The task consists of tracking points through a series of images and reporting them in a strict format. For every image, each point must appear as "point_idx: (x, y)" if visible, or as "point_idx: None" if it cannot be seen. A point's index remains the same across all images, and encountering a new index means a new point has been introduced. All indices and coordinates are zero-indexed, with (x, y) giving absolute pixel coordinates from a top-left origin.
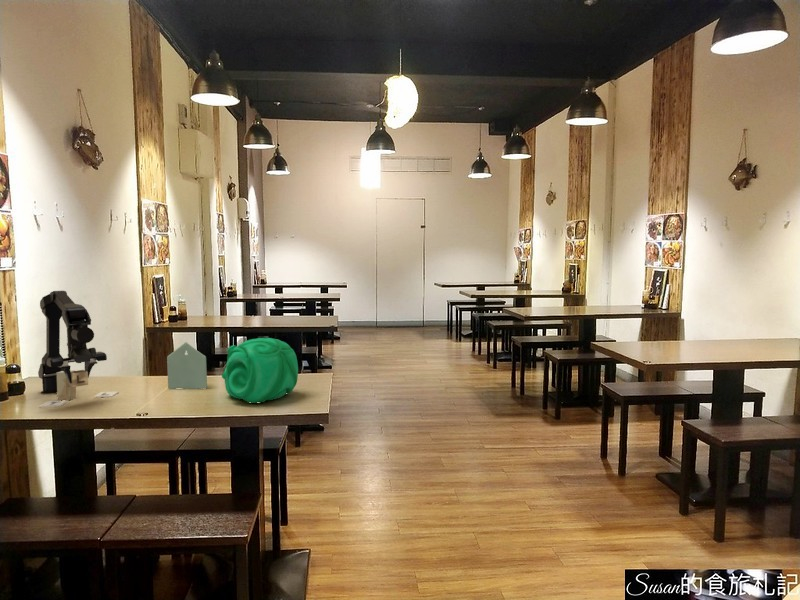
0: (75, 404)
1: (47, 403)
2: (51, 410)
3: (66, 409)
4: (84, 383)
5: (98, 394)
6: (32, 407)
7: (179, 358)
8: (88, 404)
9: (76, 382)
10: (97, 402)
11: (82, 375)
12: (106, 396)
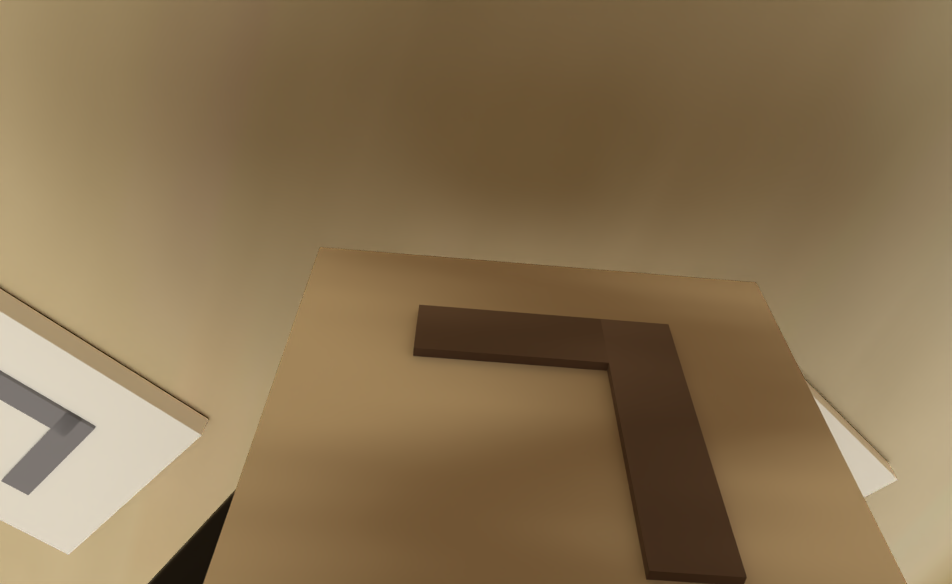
0: None
1: None
2: (933, 205)
3: (780, 74)
4: (430, 290)
5: (115, 481)
6: (918, 516)
7: None
8: (382, 117)
9: (690, 363)
10: (221, 131)
11: (472, 535)
12: (26, 323)
